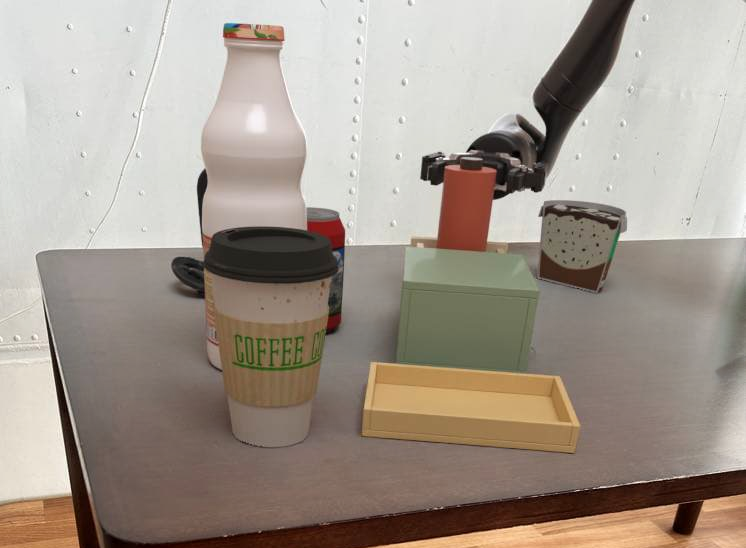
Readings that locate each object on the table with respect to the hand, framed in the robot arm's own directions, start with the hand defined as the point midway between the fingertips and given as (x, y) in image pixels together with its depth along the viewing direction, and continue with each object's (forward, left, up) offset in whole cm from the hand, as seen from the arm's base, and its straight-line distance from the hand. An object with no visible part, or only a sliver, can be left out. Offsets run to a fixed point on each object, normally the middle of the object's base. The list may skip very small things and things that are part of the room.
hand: (471, 179), depth 90 cm
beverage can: (+16, +10, -15) cm, 24 cm away
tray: (0, +32, -15) cm, 35 cm away
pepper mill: (0, +1, -13) cm, 13 cm away
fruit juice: (+20, +22, -15) cm, 33 cm away
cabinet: (0, +14, -15) cm, 20 cm away
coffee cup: (+16, +38, -15) cm, 44 cm away
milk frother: (+27, -5, -15) cm, 32 cm away
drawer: (0, 0, -14) cm, 14 cm away
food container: (-18, -19, -15) cm, 30 cm away
